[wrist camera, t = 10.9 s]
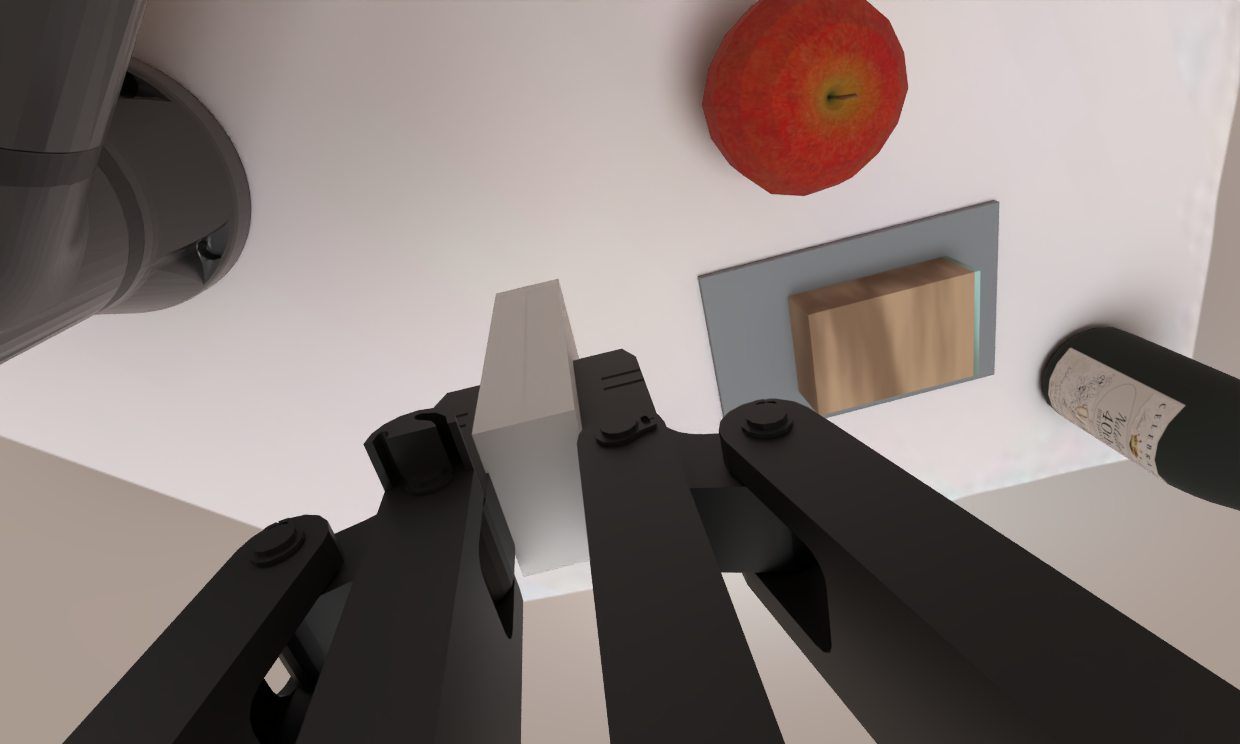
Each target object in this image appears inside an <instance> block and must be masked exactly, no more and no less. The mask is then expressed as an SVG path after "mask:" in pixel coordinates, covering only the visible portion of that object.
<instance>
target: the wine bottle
mask: <svg viewBox="0 0 1240 744" xmlns="http://www.w3.org/2000/svg"><path fill="white" fill-rule="evenodd" d="M1042 388H1043V392H1044V395H1045V398H1046V401H1047V403H1048V404H1049V405H1050V406H1051V407H1052V408H1053V409H1054V410H1055V411H1056V412H1057V413H1059V414H1060V415H1061V416H1063V417H1064V418H1066V419H1067V420H1069V421H1070V422H1072V423H1074V424H1075V425H1077V426H1078V427H1080V428H1081V429H1083V430H1084V431H1086V432H1088V433H1089V434H1091V435H1092V436H1094V437H1095V438H1097V439H1099V440H1100V441H1102V442H1103V443H1105V444H1106V445H1108V446H1109V447H1111V448H1113V449H1114V450H1116V451H1117V452H1119V453H1120V454H1122V455H1124V456H1125V457H1127V458H1128V459H1130V460H1131V461H1133V462H1134V463H1136V464H1138V465H1139V466H1141V467H1142V468H1144V469H1146V470H1147V471H1149V472H1150V473H1152V474H1153V475H1155V476H1156V477H1158V478H1160V479H1161V480H1163V481H1164V482H1166V483H1167V484H1169V485H1171V486H1173V487H1175V488H1178V489H1180V490H1182V491H1184V492H1186V493H1189V494H1191V495H1193V496H1196V497H1198V498H1201V499H1204V500H1207V501H1209V502H1212V503H1216V504H1219V505H1222V506H1226V507H1229V508H1233V509H1236V510H1239V511H1240V380H1239V379H1237V378H1235V377H1232V376H1230V375H1228V374H1226V373H1223V372H1221V371H1218V370H1216V369H1214V368H1212V367H1209V366H1207V365H1204V364H1202V363H1200V362H1197V361H1195V360H1193V359H1190V358H1188V357H1186V356H1183V355H1181V354H1179V353H1176V352H1174V351H1172V350H1169V349H1167V348H1165V347H1162V346H1160V345H1157V344H1155V343H1153V342H1150V341H1148V340H1146V339H1143V338H1141V337H1138V336H1136V335H1134V334H1131V333H1128V332H1125V331H1122V330H1119V329H1116V328H1113V327H1108V328H1093V329H1091V330H1088V331H1085V332H1083V333H1080V334H1078V335H1076V336H1074V337H1073V338H1071V339H1070V340H1069V341H1067V342H1066V343H1064V344H1063V345H1062V346H1061V347H1060V348H1059V349H1058V350H1057V352H1056V353H1055V354H1054V355H1053V356H1052V358H1051V359H1050V361H1049V363H1048V365H1047V367H1046V370H1045V372H1044V377H1043V387H1042Z"/></svg>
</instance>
